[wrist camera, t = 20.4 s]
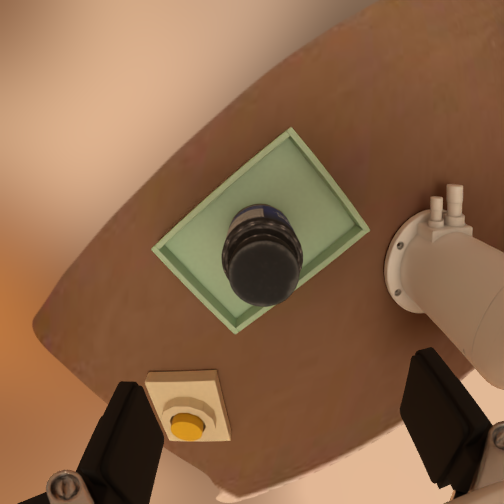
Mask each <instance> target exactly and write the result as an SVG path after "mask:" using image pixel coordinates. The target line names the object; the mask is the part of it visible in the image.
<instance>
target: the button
mask: <svg viewBox="0 0 504 504" xmlns="http://www.w3.org/2000/svg"><path fill="white" fill-rule="evenodd" d="M203 426H204V424H203V421H202V419H201V418H199V417H198V416H196V415H193V414H190V413H178V414H176V415H175V416H174V417H173V420H172V424H171V432H172V434H173V435H174V436H176V437H177V438H179V439H182V440H185V441H195V440H198V439H200V438H201V436H202V433H203Z"/></svg>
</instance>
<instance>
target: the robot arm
mask: <svg viewBox="0 0 504 504" xmlns="http://www.w3.org/2000/svg"><path fill="white" fill-rule="evenodd" d="M462 202H463V185H458V184H447V210H444V209H443V197H439V196H431V197H430V209H428V210H425V211H422V212H419V213H417V214H416V215H414V216H413V217H411V218H410V219H408V220H407V221H406V222H405V223H404V224H403V225H402V226H401V227H400V229H399V230H398V231H397V233H396V234H395V236H394V238H393V239H392V241H391V243H390V246H389V248H388V251H387V254H386V259H385V264H384V276H385V283H386V286H387V289H388V292H389V293H390V295H391V296H392V298H393V299H394V300H395V301H396V303H397V304H398V305H399V306H401V307H402V308H403V309H405V310H407V311H410V312H413V313H426V314H427V315H428V316H429V318H430V319H431V320H432V321H433V322H434V323H435V324H436V325H437V326H438V327H439V328H440V329H441V330H442V331H443V333H444V334H445V335H446V336H447V337H448V338H449V339H450V340H451V341H452V342H453V344H454V345H455V346H456V347H457V348H458V349H459V350H460V351H461V353H462V354H463V355H464V356H465V357H466V358H467V359H468V360H469V362H470V363H471V364H472V365H473V366H474V367H475V369H476V370H477V371H478V372H479V373H480V374H481V376H482V377H483V378H484V379H485V380H486V381H487V382H488V383H490V384H491V385H493V386H495V387H497V388H499V389H503V390H504V253H503V252H501V251H500V250H498V249H496V248H494V247H492V246H490V245H488V244H486V243H484V242H482V241H480V240H478V239H476V238H474V237H472V232H473V228H472V227H471V226H469V225H466V224H465V222H464V221H465V215H463V214H462ZM398 243H399V244H398ZM397 244H398V245H397ZM400 414H401V417H402V419H403V421H404V423H405V425H406V427H407V430H408V432H409V434H410V436H411V438H412V440H413V442H414V444H415V446H416V448H417V451H418V453H419V455H420V457H421V459H422V461H423V463H424V466H425V468H426V470H427V472H428V475H429V477H430V479H431V481H432V482H433V483H437V485H438V487H439V489H440V488H443V487H445V486H448V485H450V484H451V486H452V488H453V490H454V491H453V493H452V496H451V499H450V501H449V502H446V503H444V504H504V421H502V422H498V423H496V424H495V425H492V424H491V423H490V421H489V420H488V418H487V417H486V416H485V414H484V413H483V411H482V410H481V409H480V407H479V406H478V404H477V403H476V402H475V400H474V399H473V398H472V396H471V395H470V394H469V392H468V391H467V390H466V389H465V387H464V386H463V384H462V383H461V382H460V380H459V379H458V378H457V377H456V376H455V375H454V374H453V372H452V371H451V370H450V368H449V367H448V366H447V365H446V363H445V362H444V361H443V360H442V358H441V357H440V356H439V355H438V353H437V352H436V351H435V350H434V349H433V348H432V347H430V348H426V349H422V350H418V351H417V352H416V353H415V355H414V356H412V358H411V363H410V368H409V372H408V377H407V382H406V386H405V390H404V395H403V399H402V403H401V407H400ZM163 444H164V435H163V433H162V430H161V428H160V426H159V424H158V422H157V420H156V417H155V415H154V413H153V411H152V408H151V406H150V404H149V401H148V399H147V397H146V394H145V392H144V389H143V387H142V386H139V385H138V384H137V383H136V382H123V381H121V382H119V384H118V386H117V388H116V390H115V392H114V394H113V396H112V398H111V400H110V402H109V404H108V406H107V408H106V410H105V413H104V415H103V416H102V417H101V418H100V420H99V422H98V424H97V426H96V428H95V430H94V432H93V434H92V437H91V439H90V441H89V443H88V446H87V448H86V450H85V452H84V454H83V456H82V459H81V461H80V463H79V466H78V468H77V470H76V472H74V471H71V470H62V471H59V472H57V473H55V474H53V475H52V476H51V477H50V478H49V480H48V482H47V485H46V491H47V492H45V493H43V494H40V495H38V496H35V497H33V498H30V499H28V500H25V501H23V502H20V503H18V504H149V502H150V497H151V492H152V489H153V485H154V480H155V476H156V472H157V468H158V464H159V459H160V456H161V452H162V448H163Z"/></svg>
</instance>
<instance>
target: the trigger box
mask: <svg viewBox="0 0 504 504" xmlns="http://www.w3.org/2000/svg"><path fill="white" fill-rule="evenodd" d="M145 384H146V387H147V389H148V392H149V394H150V397H151V399H152V402H153V404H154V406H155V409H156V411H157V413H158V416H159V418H160V420H161V422H162V425H163V427H164V429H165V431H166V433H167V436H168V438H169V440H170V441H185V440H182V439H179V438H177V437H176V436H174V435H173V434H172V432H171V424H172V420H173V417H174V416H175V415H176V414H178V413H190V414H193V415H196V416H198V417H199V418H201V419H202V421H203V424H204V426H203V433H202V436H201V438H200V439H198V440H195V441H230V440H231V427H230V423H229V419H228V415H227V411H226V407H225V403H224V399H223V395H222V391H221V387H220V383H219V378H218V374H217V370H200V371H171V372H149V373H148V375H147V378H146V380H145Z"/></svg>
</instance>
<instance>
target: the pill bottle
mask: <svg viewBox="0 0 504 504" xmlns="http://www.w3.org/2000/svg"><path fill="white" fill-rule="evenodd" d="M221 258H222V267H223V270H224V273H225V274H226V277H227V278H228V280H229V283H230V285H231V288H232V290H233V291H234V293H235V294H236V295H237V296H238V297H239V298H240V299H241V300H243V301H244V302H246V303H248V304H250V305H253V306H259V307H268V306H273V305H277V304H279V303H281V302H283V301H284V300H286V299H287V298H288V297H290V295H291V294H292V293H293V292H294V290H295V289H296V286H297V284H298V281H299V275H300V271H301V269H302V264H303V251H302V247H301V244H300V242H299V240H298V238H297V236H296V234H295V232H294V230H293V228H292V226H291V224H290V222H289V221H288V219H287V217H286V216H285V215H284V214H283V212H281V211H280V210H278V209H276V208H274V207H272V206H270V205H268V204H253V205H250V206H247V207H245V208H243V209H242V210H240V211H239V212H238V213H237V214H236V215H235V216H234V218H233V220H232V222H231V224H230V226H229V230H228V233H227V236H226V239H225V243H224V246H223V250H222V257H221Z"/></svg>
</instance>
